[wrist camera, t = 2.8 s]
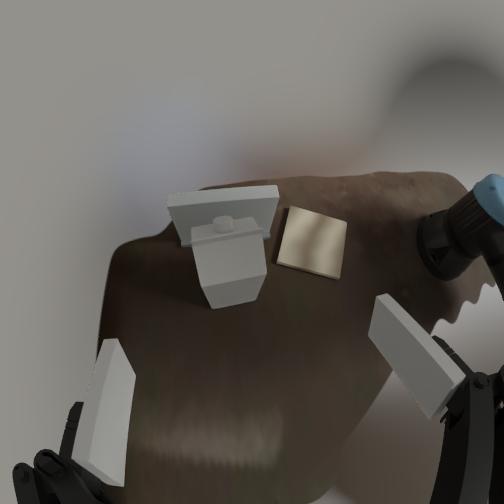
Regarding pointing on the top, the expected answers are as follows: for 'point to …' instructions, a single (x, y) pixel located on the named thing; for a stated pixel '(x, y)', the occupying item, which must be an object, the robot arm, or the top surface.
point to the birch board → (313, 243)
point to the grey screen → (222, 208)
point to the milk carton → (229, 260)
